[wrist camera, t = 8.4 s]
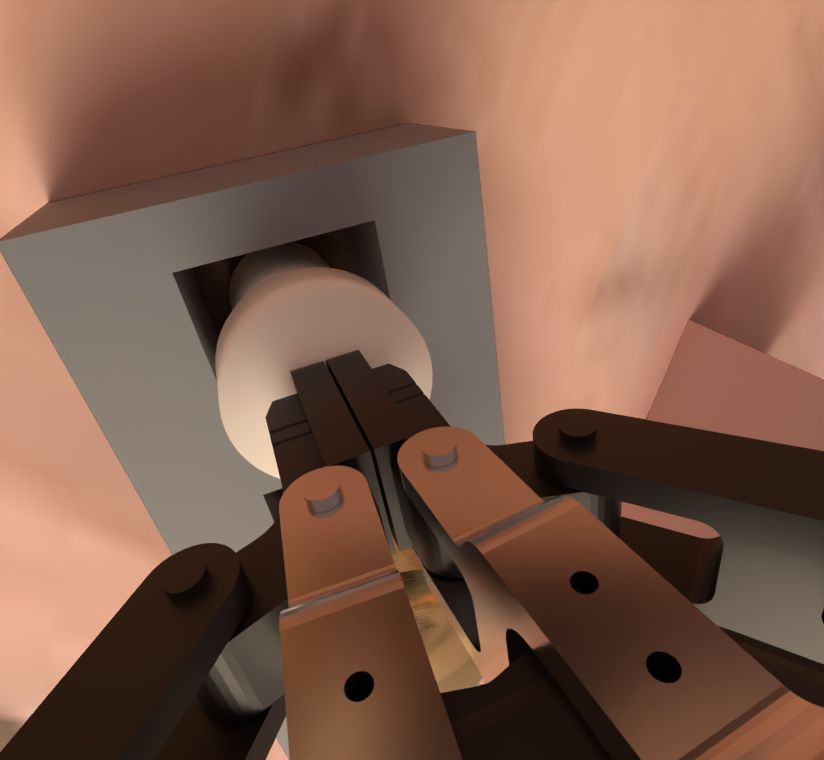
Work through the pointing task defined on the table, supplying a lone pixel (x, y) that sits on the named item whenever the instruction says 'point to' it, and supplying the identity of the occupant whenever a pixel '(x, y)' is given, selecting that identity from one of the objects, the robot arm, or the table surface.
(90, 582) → the table surface
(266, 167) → the mount
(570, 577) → the robot arm
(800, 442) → the greeting card
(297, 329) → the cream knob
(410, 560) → the gold tall rounded piece
